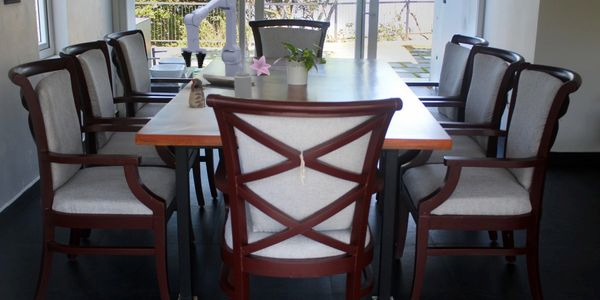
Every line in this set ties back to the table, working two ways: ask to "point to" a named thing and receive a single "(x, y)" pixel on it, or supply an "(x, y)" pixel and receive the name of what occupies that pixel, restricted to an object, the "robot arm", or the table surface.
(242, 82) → the can
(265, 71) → the lily
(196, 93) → the figurine
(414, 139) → the table surface
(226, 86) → the underlay mat
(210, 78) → the plank
